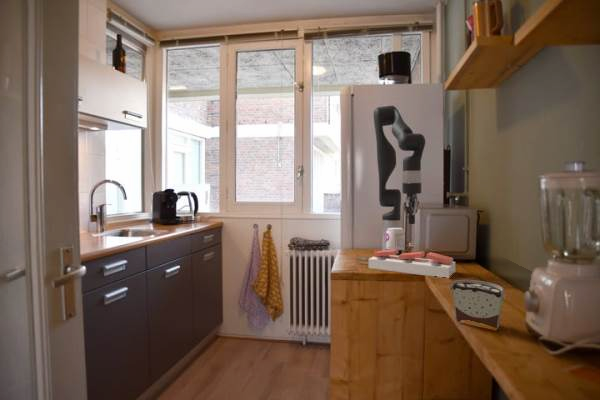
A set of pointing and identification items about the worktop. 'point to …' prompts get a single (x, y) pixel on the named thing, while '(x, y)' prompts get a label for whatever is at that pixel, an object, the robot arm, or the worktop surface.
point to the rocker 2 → (439, 258)
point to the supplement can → (395, 240)
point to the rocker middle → (411, 255)
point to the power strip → (411, 265)
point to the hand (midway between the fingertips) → (411, 223)
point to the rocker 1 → (386, 252)
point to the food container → (477, 301)
